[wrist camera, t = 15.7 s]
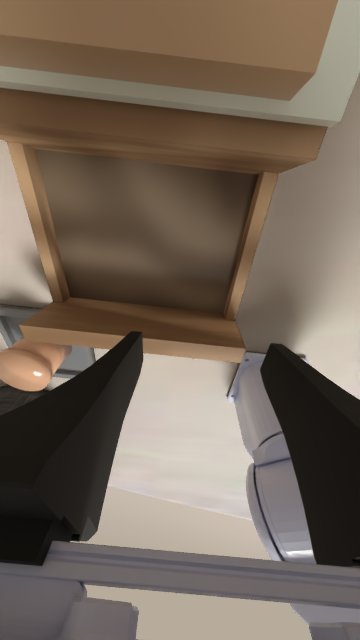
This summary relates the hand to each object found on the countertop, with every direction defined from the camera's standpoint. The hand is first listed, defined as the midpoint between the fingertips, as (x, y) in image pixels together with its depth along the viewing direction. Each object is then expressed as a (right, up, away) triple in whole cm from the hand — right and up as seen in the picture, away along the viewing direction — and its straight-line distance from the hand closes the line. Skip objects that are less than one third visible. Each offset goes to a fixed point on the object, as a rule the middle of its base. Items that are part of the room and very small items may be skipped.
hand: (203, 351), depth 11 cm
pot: (-17, -1, +12) cm, 21 cm away
